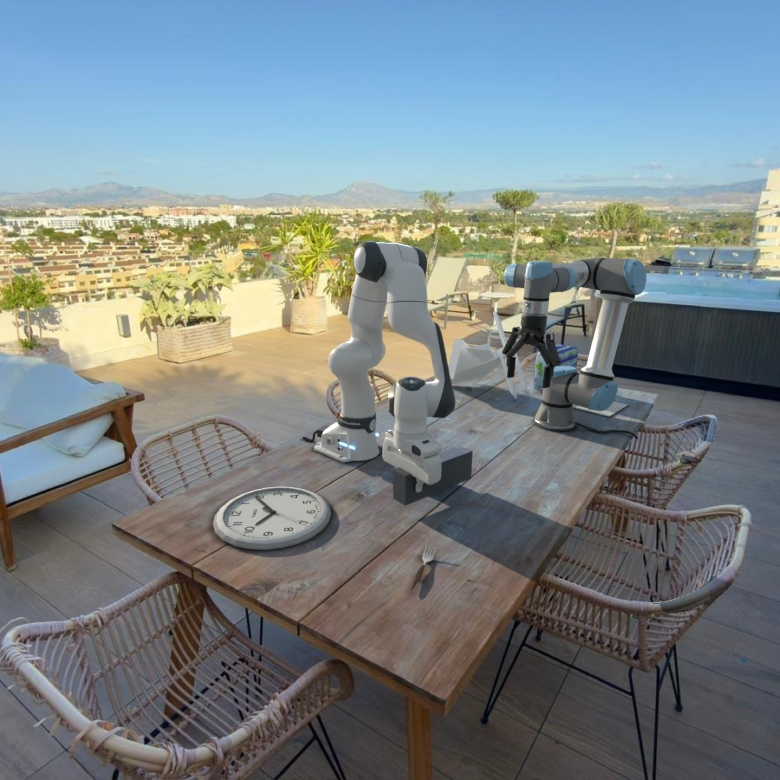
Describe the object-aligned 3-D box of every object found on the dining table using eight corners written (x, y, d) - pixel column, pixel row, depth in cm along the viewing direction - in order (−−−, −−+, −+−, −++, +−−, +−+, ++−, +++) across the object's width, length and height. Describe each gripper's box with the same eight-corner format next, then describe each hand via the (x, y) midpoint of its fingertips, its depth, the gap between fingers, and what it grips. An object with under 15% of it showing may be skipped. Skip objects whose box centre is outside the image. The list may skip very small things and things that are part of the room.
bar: (458, 472, 157) (459, 445, 154) (471, 478, 153) (472, 450, 151) (392, 498, 142) (393, 469, 139) (405, 506, 138) (405, 476, 135)
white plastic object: (461, 429, 252) (437, 405, 227) (444, 352, 274) (420, 323, 250) (535, 404, 240) (518, 377, 215) (510, 326, 262) (492, 293, 237)
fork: (405, 590, 110) (405, 582, 109) (426, 549, 124) (426, 541, 123) (417, 593, 109) (417, 585, 108) (437, 551, 123) (437, 544, 122)
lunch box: (550, 397, 237) (555, 352, 231) (529, 391, 245) (533, 348, 238) (577, 386, 255) (582, 344, 249) (556, 381, 262) (561, 340, 256)
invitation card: (608, 416, 214) (573, 407, 224) (608, 416, 214) (573, 408, 224) (628, 404, 229) (594, 396, 238) (628, 405, 229) (594, 397, 238)
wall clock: (329, 541, 123) (198, 546, 121) (329, 547, 124) (199, 552, 121) (332, 482, 152) (226, 484, 149) (332, 487, 152) (226, 489, 150)
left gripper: (376, 430, 143) (377, 476, 147) (427, 454, 128) (426, 505, 132) (394, 425, 147) (394, 470, 151) (446, 448, 131) (444, 497, 135)
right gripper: (494, 309, 164) (489, 375, 170) (563, 321, 145) (554, 394, 151) (509, 307, 168) (504, 371, 174) (578, 319, 149) (569, 389, 156)
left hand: (409, 486), depth 141 cm, fingers closed on bar, 5 cm apart
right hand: (527, 382), depth 163 cm, fingers open, 13 cm apart
